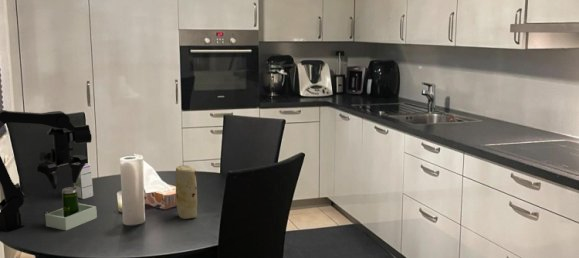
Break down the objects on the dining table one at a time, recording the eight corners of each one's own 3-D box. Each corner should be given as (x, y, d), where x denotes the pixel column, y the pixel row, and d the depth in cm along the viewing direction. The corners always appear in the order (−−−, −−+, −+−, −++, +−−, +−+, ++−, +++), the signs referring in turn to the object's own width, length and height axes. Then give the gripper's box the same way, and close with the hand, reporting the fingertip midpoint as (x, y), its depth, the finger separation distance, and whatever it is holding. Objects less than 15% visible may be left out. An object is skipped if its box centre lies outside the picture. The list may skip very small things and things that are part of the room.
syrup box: (93, 196, 239) (91, 163, 237) (82, 199, 234) (80, 166, 232) (85, 194, 242) (83, 161, 240) (73, 197, 237) (71, 164, 235)
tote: (66, 230, 198) (65, 218, 198) (46, 226, 203) (45, 214, 202) (96, 217, 212) (96, 206, 211) (77, 214, 216) (76, 202, 215)
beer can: (81, 217, 210) (79, 186, 208) (76, 222, 205) (74, 190, 202) (66, 217, 209) (64, 187, 207) (61, 222, 204) (59, 191, 202)
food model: (201, 216, 214) (200, 166, 210) (189, 221, 208) (188, 169, 205) (183, 212, 219) (181, 162, 215) (170, 216, 213) (169, 166, 210)
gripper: (66, 139, 218) (69, 177, 220) (25, 147, 201) (28, 189, 204) (87, 141, 213) (89, 181, 215) (46, 150, 196) (49, 193, 199)
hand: (64, 185), depth 209 cm, fingers open, 9 cm apart
